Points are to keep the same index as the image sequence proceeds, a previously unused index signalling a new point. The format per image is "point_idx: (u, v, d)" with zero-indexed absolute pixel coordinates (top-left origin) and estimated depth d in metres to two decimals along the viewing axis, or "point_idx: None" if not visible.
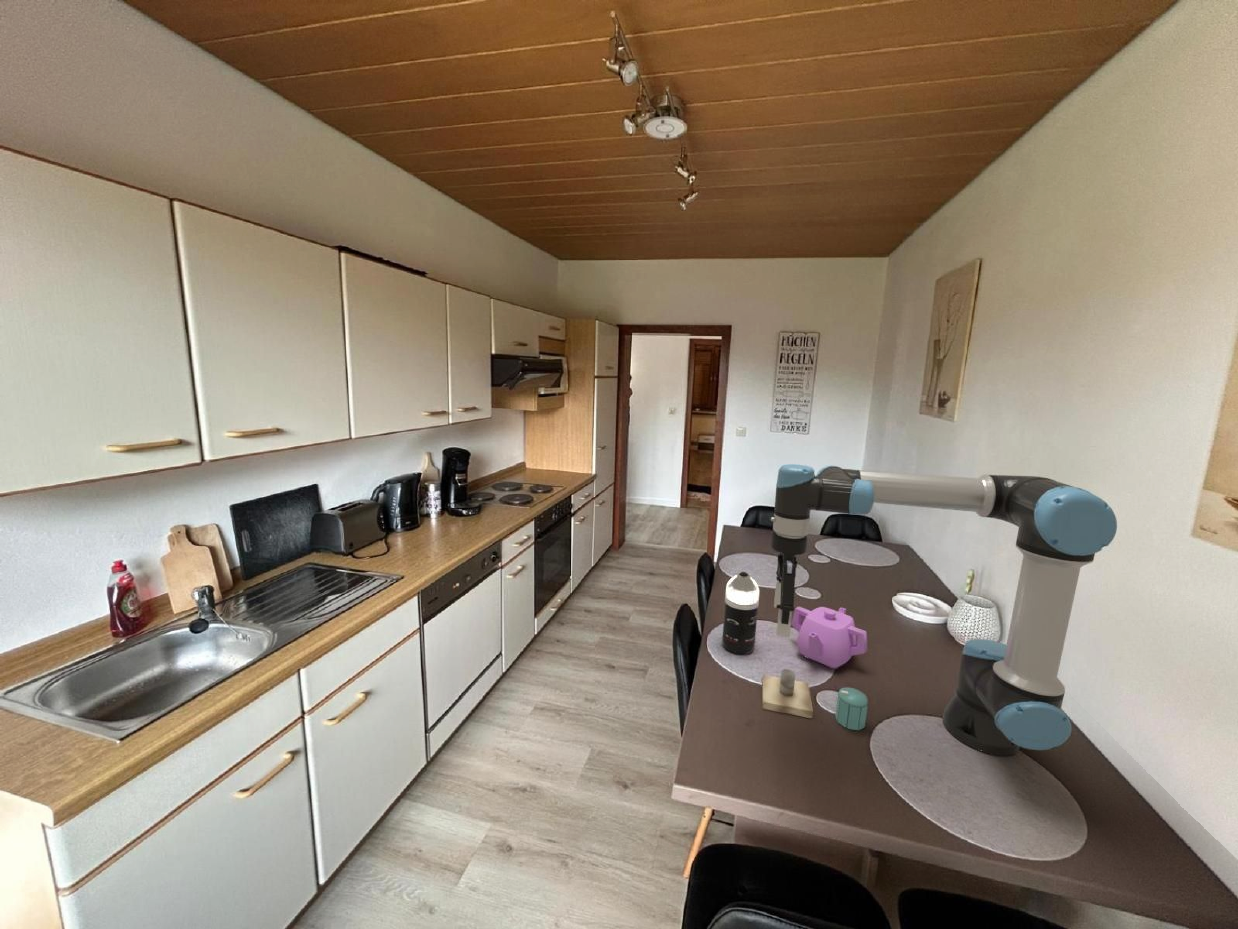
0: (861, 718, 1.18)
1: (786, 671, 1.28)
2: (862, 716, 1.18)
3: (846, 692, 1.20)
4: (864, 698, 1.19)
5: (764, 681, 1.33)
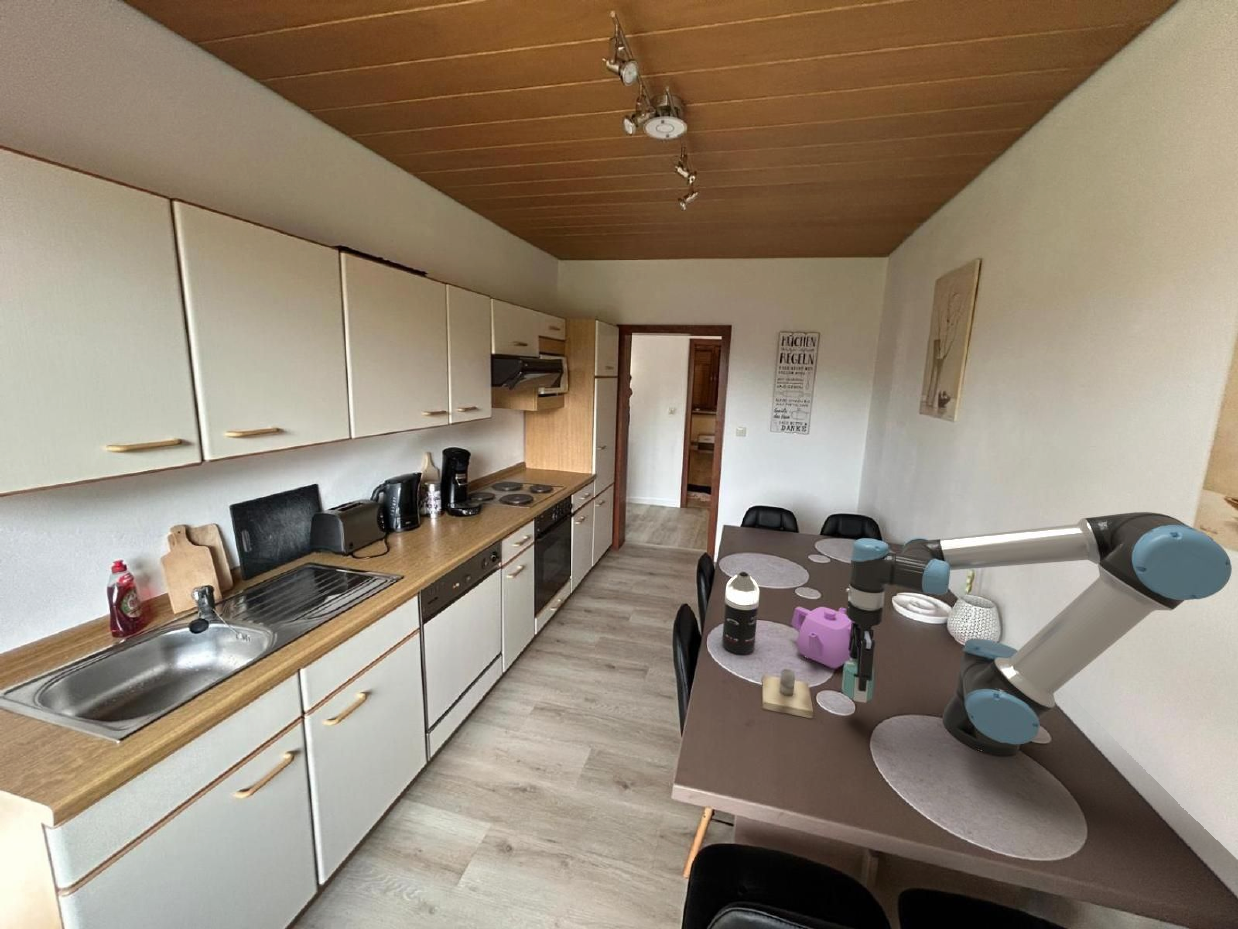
0: (868, 689, 1.16)
1: (786, 671, 1.28)
2: (869, 687, 1.16)
3: (852, 663, 1.18)
4: None
5: (764, 681, 1.33)
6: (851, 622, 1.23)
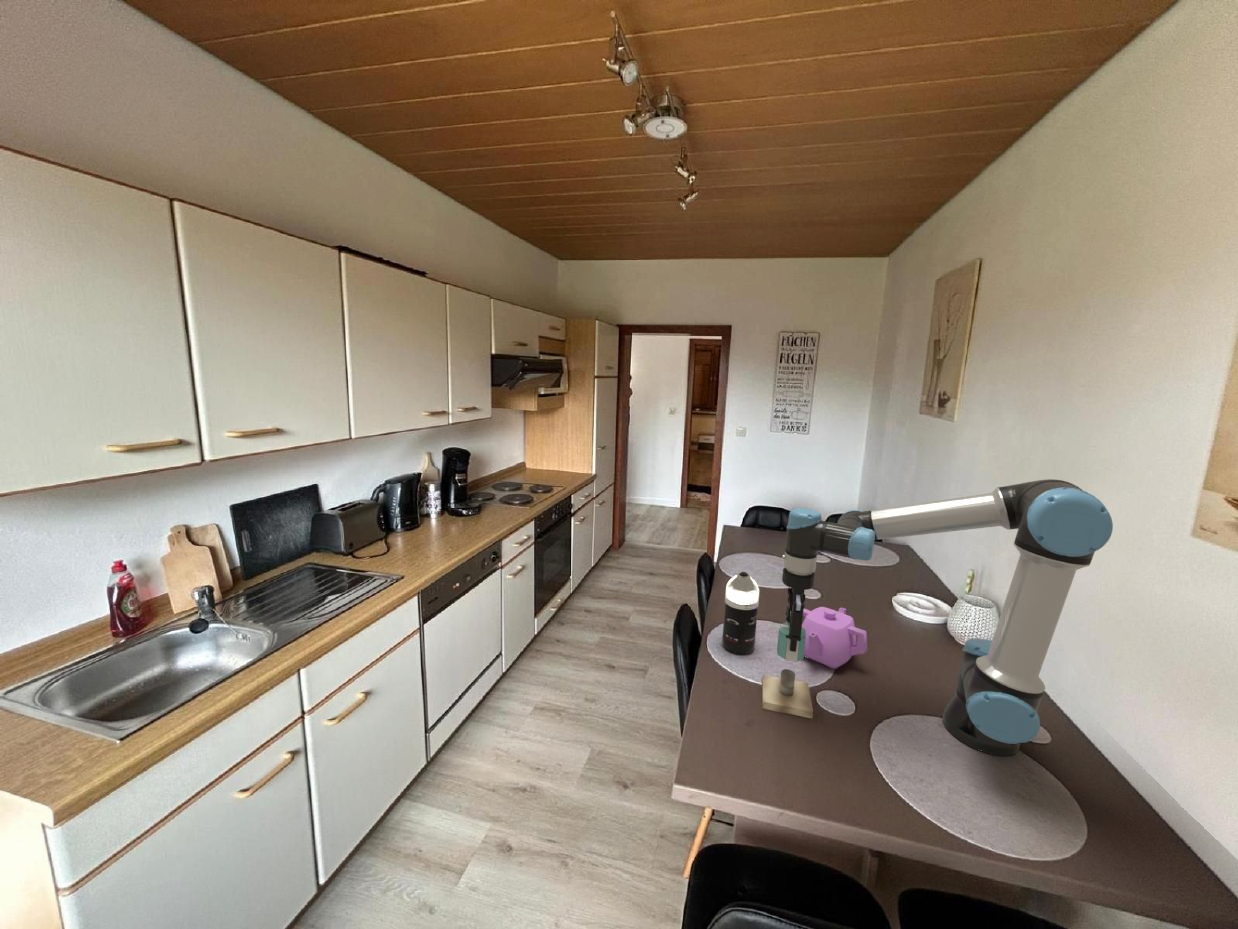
0: (799, 649, 1.23)
1: (786, 671, 1.28)
2: (800, 648, 1.23)
3: (786, 626, 1.25)
4: (803, 631, 1.24)
5: (764, 681, 1.33)
6: None
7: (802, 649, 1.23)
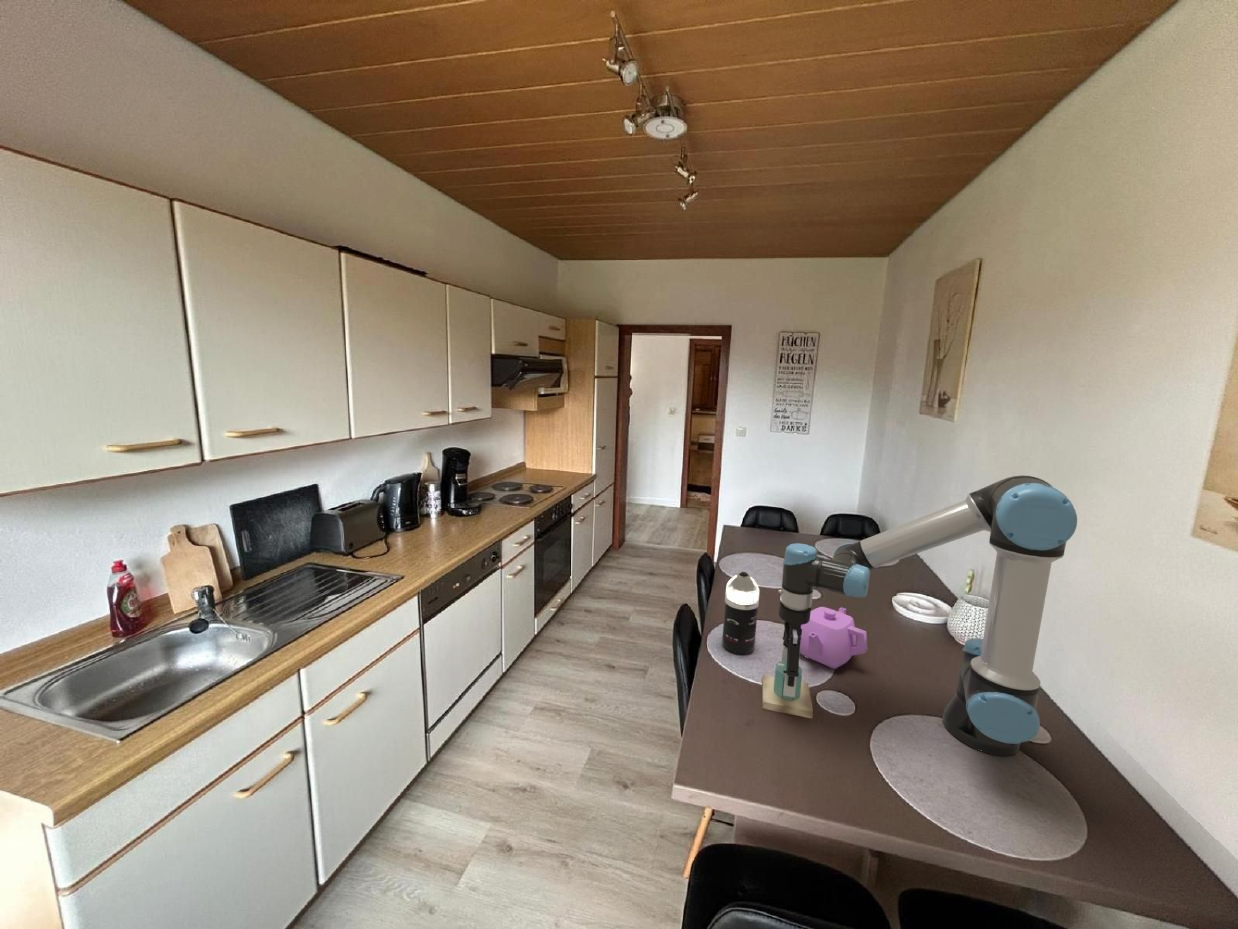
0: (795, 689, 1.25)
1: None
2: (797, 687, 1.25)
3: (782, 665, 1.27)
4: (799, 670, 1.26)
5: (764, 681, 1.33)
6: None
7: (798, 688, 1.25)
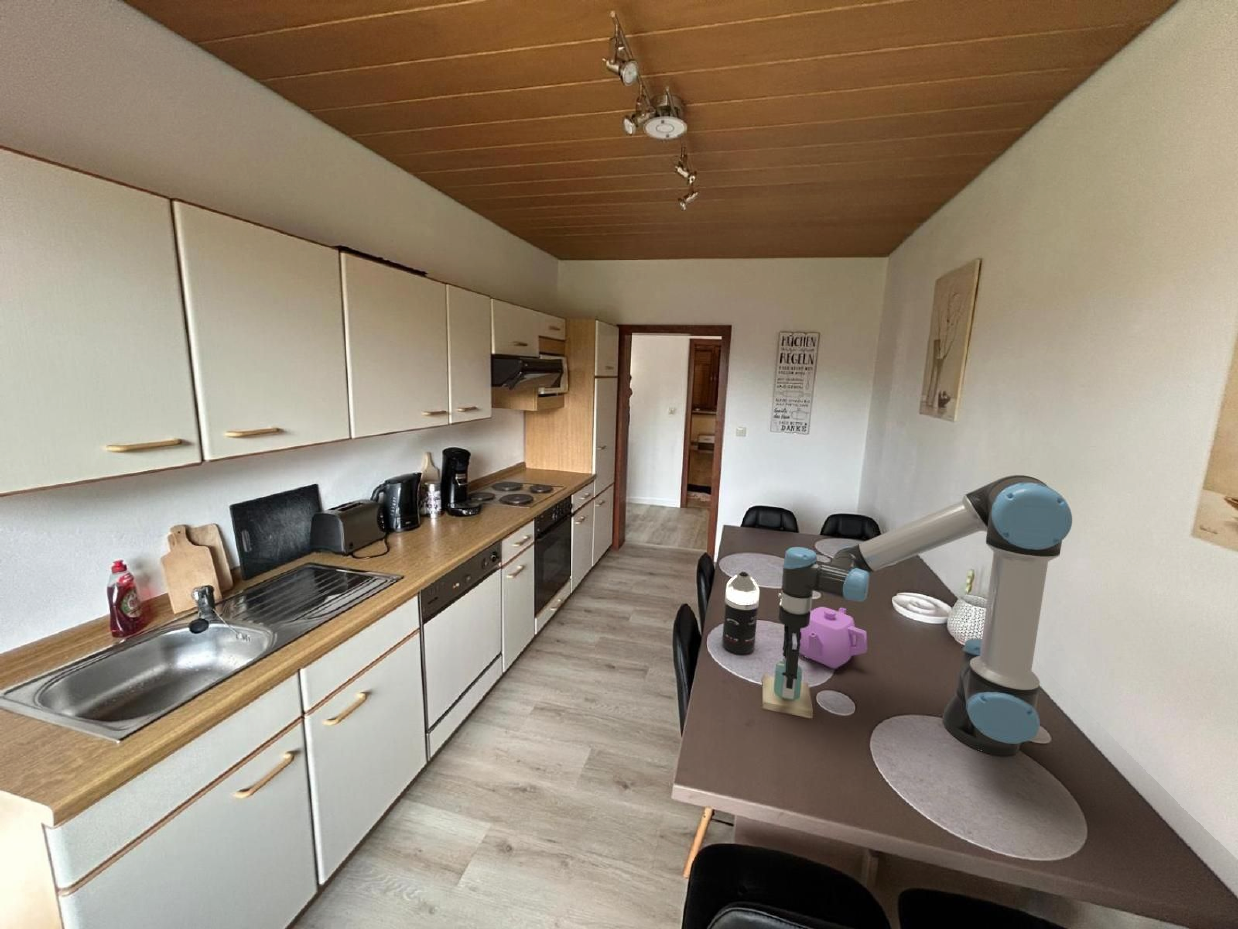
0: (795, 689, 1.25)
1: None
2: (797, 687, 1.25)
3: (782, 665, 1.27)
4: (799, 670, 1.26)
5: (764, 681, 1.33)
6: None
7: (798, 688, 1.25)
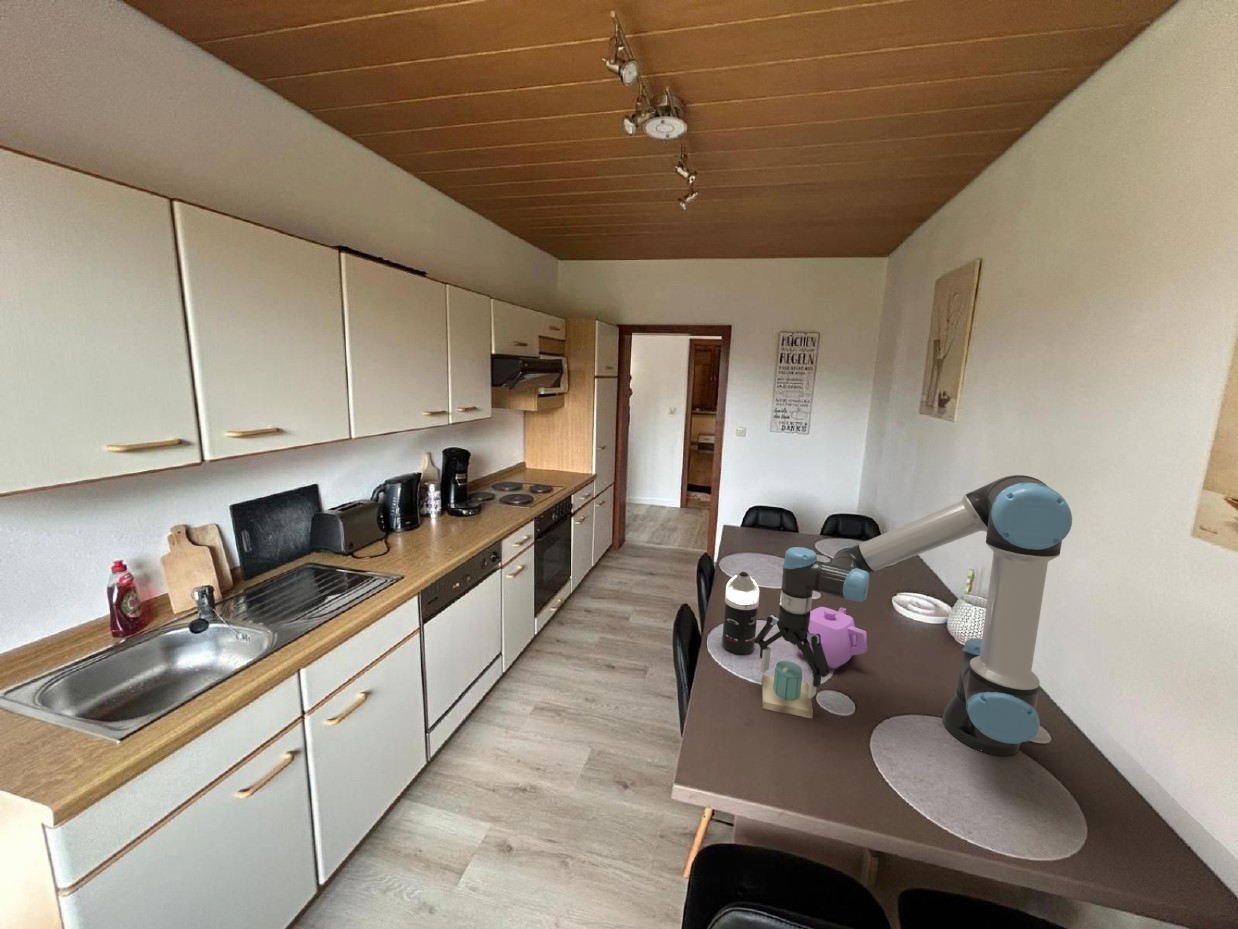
0: None
1: None
2: None
3: (786, 668, 1.26)
4: (794, 664, 1.29)
5: (764, 681, 1.33)
6: (766, 622, 1.30)
7: None
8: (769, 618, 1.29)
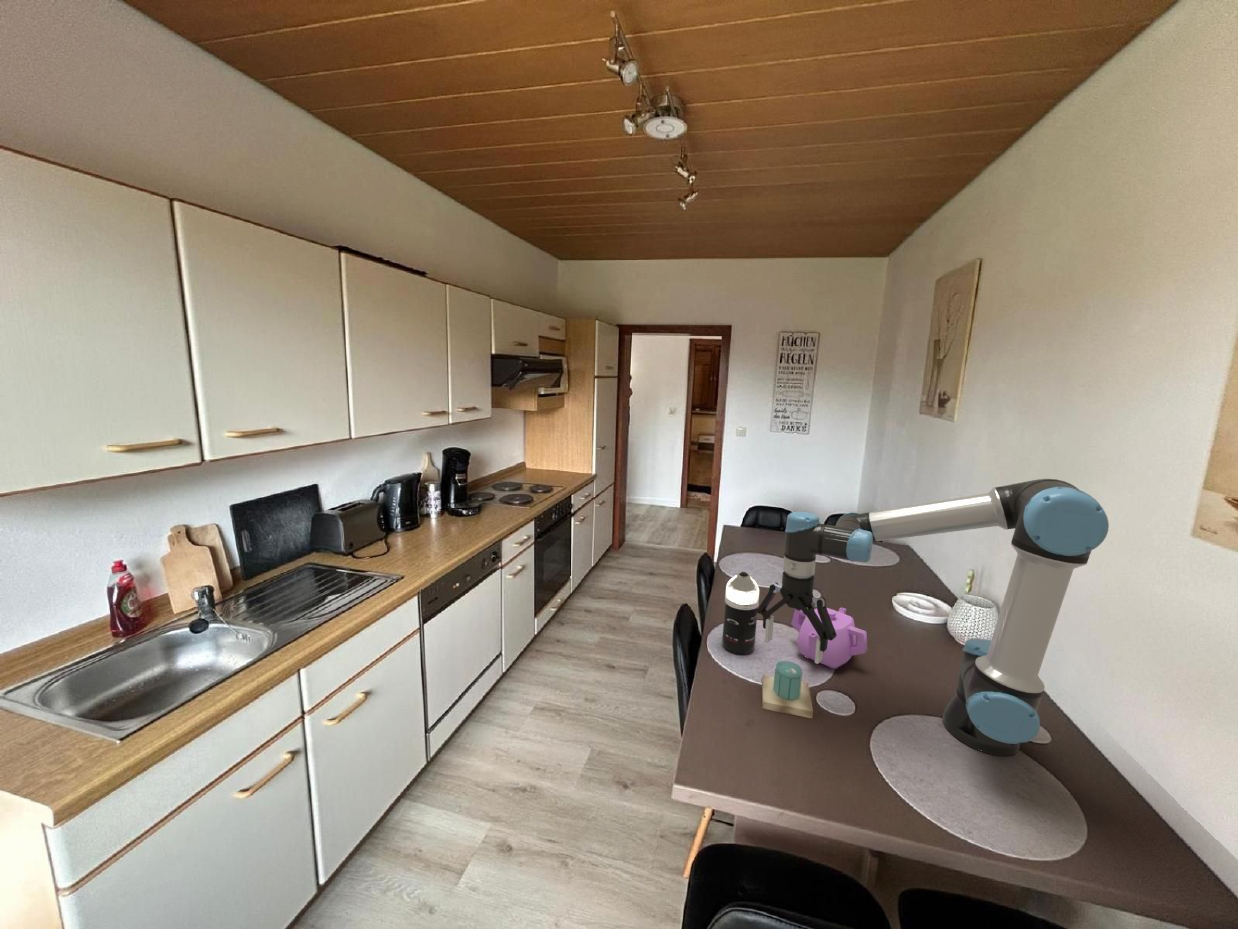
0: None
1: None
2: None
3: (792, 669, 1.26)
4: (785, 662, 1.30)
5: (764, 681, 1.33)
6: (769, 591, 1.27)
7: None
8: (772, 586, 1.27)
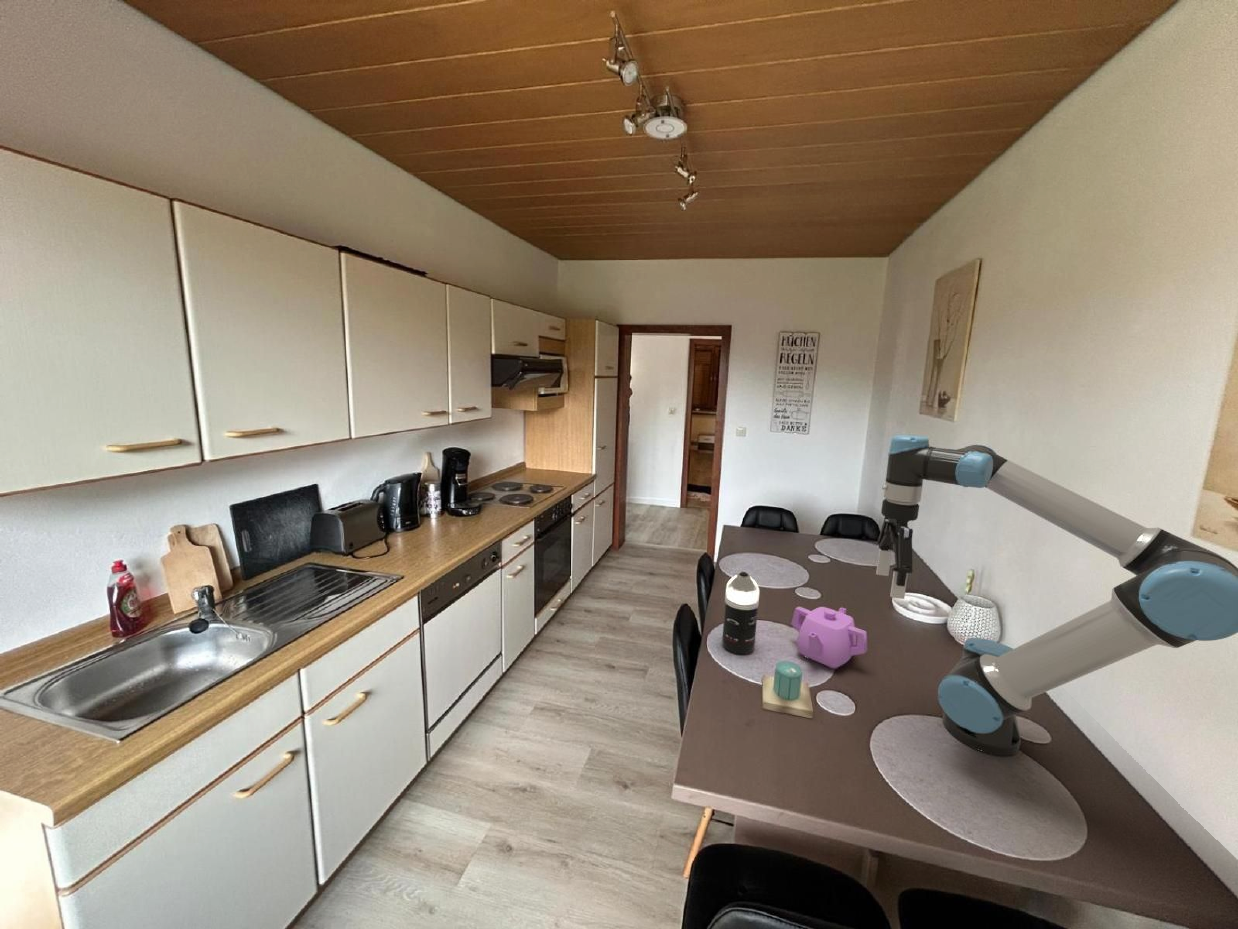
0: None
1: None
2: None
3: (792, 669, 1.26)
4: (785, 662, 1.30)
5: (764, 681, 1.33)
6: (884, 519, 1.22)
7: None
8: None
